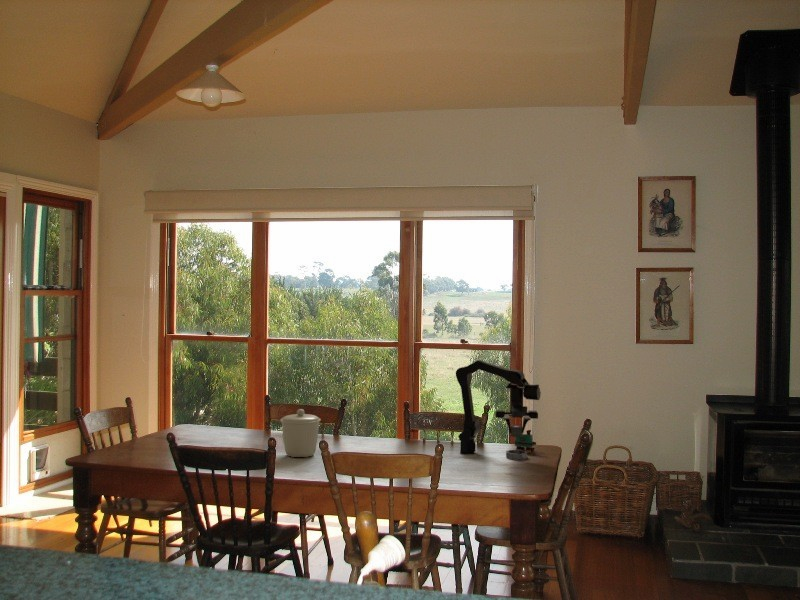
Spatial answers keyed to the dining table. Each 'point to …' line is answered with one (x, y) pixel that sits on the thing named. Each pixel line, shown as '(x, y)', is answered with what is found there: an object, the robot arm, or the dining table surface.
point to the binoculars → (525, 442)
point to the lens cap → (516, 431)
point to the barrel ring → (516, 454)
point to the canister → (300, 434)
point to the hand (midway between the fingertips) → (516, 433)
